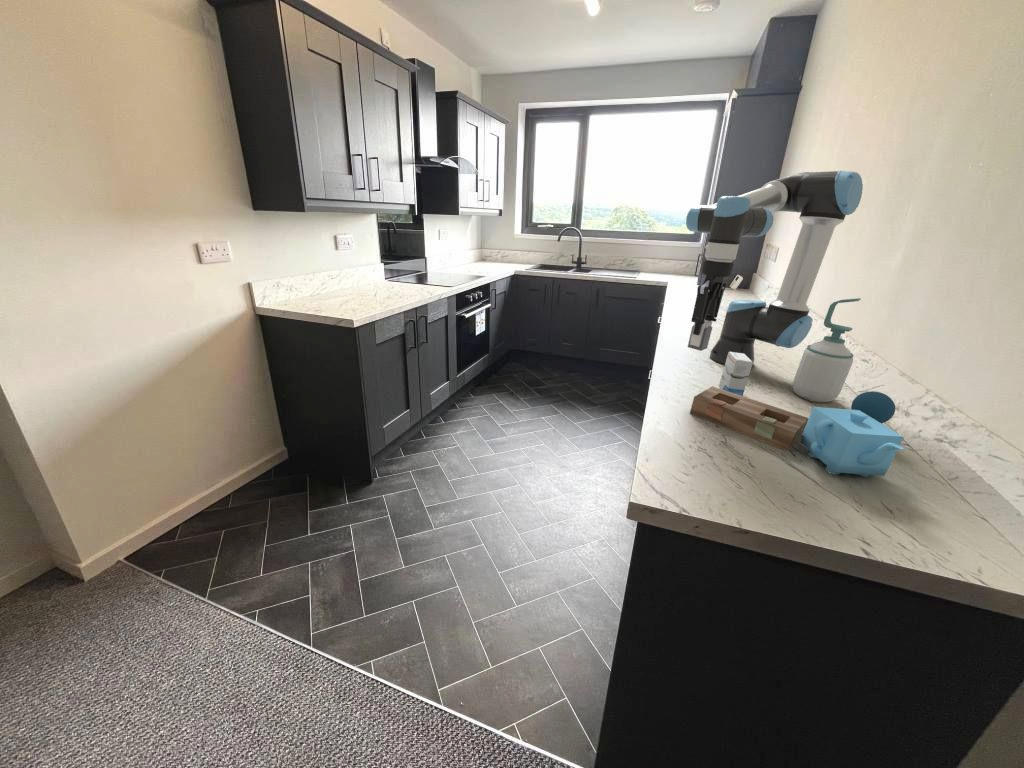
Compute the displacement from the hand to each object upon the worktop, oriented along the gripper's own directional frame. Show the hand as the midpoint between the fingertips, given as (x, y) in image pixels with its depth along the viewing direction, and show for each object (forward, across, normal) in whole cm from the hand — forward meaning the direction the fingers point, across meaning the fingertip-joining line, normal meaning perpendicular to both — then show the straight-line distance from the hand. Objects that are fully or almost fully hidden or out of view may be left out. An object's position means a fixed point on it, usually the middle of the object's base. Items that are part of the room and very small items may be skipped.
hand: (698, 343), depth 119 cm
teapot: (+16, +11, +42) cm, 46 cm away
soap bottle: (+16, -33, +26) cm, 45 cm away
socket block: (+16, +6, +19) cm, 25 cm away
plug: (+1, 0, 0) cm, 1 cm away
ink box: (+16, -14, +8) cm, 23 cm away
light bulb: (+16, -14, +41) cm, 46 cm away
